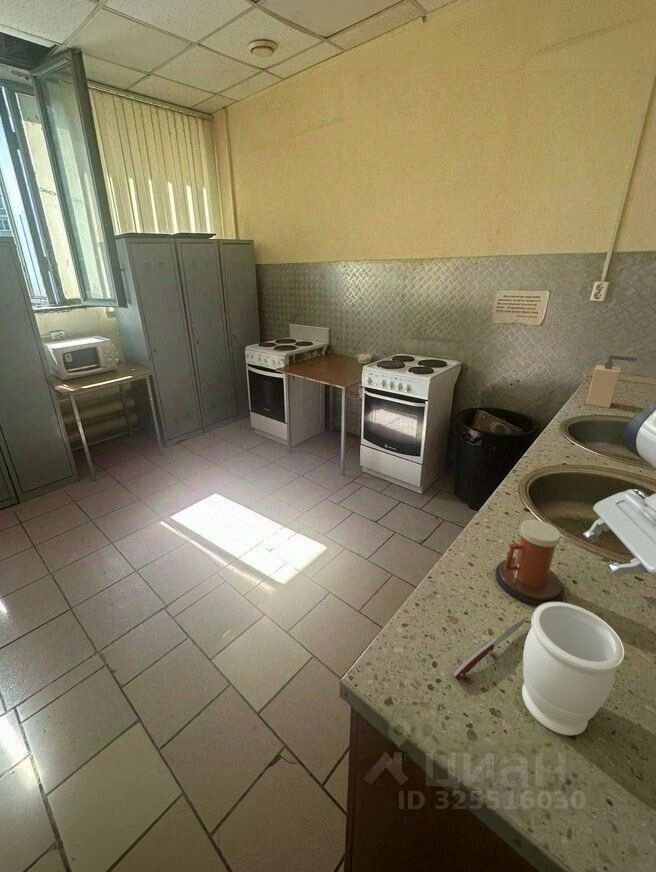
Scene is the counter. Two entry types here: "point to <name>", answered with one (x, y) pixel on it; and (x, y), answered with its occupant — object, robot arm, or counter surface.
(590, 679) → the jar
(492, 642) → the knife
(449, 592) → the counter surface
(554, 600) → the base
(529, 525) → the coffee mug with lid
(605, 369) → the soap dispenser
